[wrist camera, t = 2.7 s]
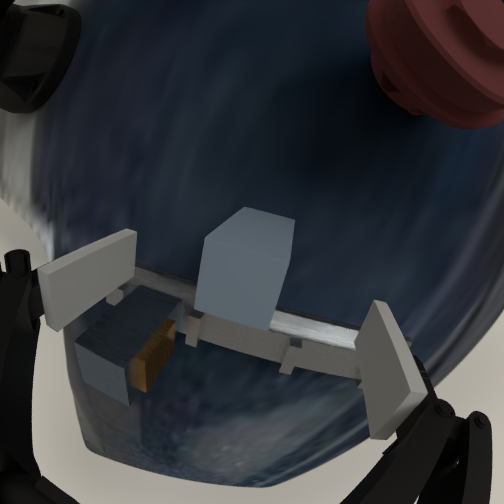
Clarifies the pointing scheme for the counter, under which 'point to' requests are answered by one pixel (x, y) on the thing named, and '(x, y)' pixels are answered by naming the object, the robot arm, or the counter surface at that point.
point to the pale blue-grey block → (245, 267)
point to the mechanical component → (440, 58)
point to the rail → (198, 336)
